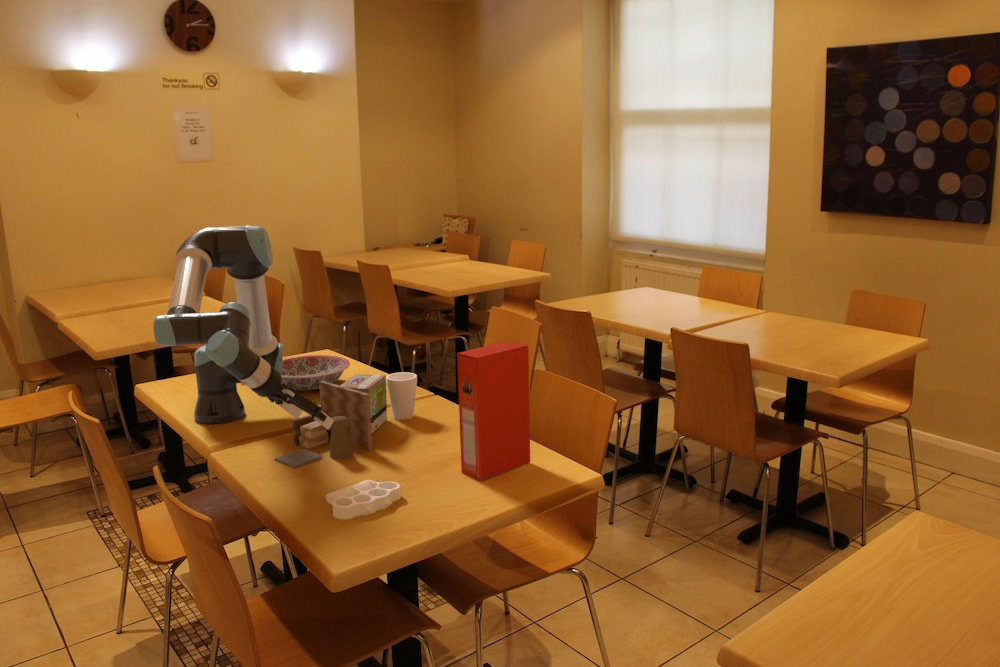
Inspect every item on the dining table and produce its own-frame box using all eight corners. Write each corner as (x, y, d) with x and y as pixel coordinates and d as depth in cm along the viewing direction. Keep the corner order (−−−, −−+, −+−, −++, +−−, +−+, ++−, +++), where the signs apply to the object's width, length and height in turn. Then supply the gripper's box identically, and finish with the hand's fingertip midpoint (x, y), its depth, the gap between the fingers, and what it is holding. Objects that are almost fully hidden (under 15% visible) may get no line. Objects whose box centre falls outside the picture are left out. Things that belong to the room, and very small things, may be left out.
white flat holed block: (376, 485, 207) (413, 502, 196) (314, 507, 194) (350, 527, 184) (375, 472, 206) (412, 489, 196) (313, 494, 193) (349, 513, 183)
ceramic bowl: (367, 380, 297) (366, 359, 295) (318, 403, 271) (316, 380, 269) (301, 372, 308) (299, 352, 307) (248, 394, 283) (246, 372, 281)
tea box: (371, 436, 240) (368, 388, 236) (339, 434, 242) (335, 386, 238) (388, 419, 254) (386, 373, 251) (357, 418, 256) (354, 372, 253)
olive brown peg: (333, 461, 222) (330, 422, 219) (327, 453, 227) (324, 415, 224) (355, 456, 224) (352, 418, 222) (348, 449, 229) (346, 412, 227)
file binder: (460, 472, 212) (457, 352, 205) (509, 455, 224) (507, 340, 216) (481, 481, 206) (478, 358, 199) (530, 463, 218) (529, 345, 211)
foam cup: (382, 419, 254) (380, 379, 251) (397, 410, 263) (395, 371, 260) (409, 422, 251) (407, 381, 248) (423, 413, 259) (422, 373, 256)
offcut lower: (299, 446, 234) (298, 436, 233) (320, 439, 239) (319, 429, 238) (307, 449, 231) (307, 439, 230) (328, 442, 236) (327, 432, 235)
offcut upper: (301, 436, 233) (300, 426, 232) (316, 430, 238) (315, 420, 237) (311, 439, 231) (310, 429, 230) (326, 432, 236) (325, 422, 235)
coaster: (274, 459, 223) (274, 457, 223) (302, 450, 230) (302, 448, 229) (294, 467, 217) (294, 465, 217) (322, 457, 224) (321, 455, 224)
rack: (293, 443, 235) (288, 390, 231) (326, 432, 243) (322, 380, 240) (339, 461, 221) (335, 404, 218) (372, 448, 230) (369, 394, 226)
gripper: (224, 380, 209) (279, 421, 223) (280, 399, 193) (336, 442, 207) (241, 356, 211) (294, 398, 226) (298, 372, 195) (352, 416, 209)
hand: (314, 419), depth 216 cm, fingers open, 13 cm apart
